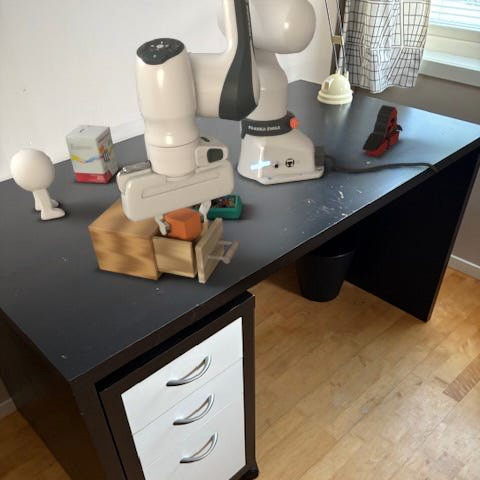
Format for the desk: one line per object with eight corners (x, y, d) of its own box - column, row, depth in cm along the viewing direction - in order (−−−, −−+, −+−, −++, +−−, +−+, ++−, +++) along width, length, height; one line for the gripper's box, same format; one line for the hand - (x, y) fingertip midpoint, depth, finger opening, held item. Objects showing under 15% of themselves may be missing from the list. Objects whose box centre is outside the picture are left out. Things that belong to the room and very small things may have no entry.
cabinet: (182, 247, 99) (176, 205, 92) (157, 280, 91) (148, 237, 84) (128, 238, 102) (119, 197, 96) (99, 269, 94) (87, 227, 88)
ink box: (106, 183, 122) (95, 137, 114) (76, 181, 123) (63, 136, 115) (119, 169, 128) (109, 124, 120) (90, 167, 130) (78, 123, 122)
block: (183, 226, 91) (180, 205, 88) (201, 233, 89) (199, 211, 86) (167, 237, 89) (164, 216, 85) (186, 244, 87) (183, 222, 84)
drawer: (244, 256, 94) (243, 221, 89) (226, 287, 87) (224, 251, 82) (172, 244, 98) (167, 210, 93) (149, 273, 91) (142, 238, 86)
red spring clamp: (389, 136, 138) (397, 95, 131) (401, 138, 137) (409, 97, 129) (360, 158, 128) (366, 115, 120) (372, 161, 126) (379, 118, 119)
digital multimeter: (241, 219, 106) (240, 208, 104) (175, 220, 107) (173, 209, 105) (242, 204, 112) (241, 192, 110) (179, 204, 112) (178, 193, 110)
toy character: (72, 214, 110) (53, 151, 100) (33, 226, 107) (9, 162, 97) (61, 199, 116) (41, 138, 106) (23, 210, 113) (-1, 148, 103)
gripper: (120, 177, 73) (136, 252, 82) (236, 146, 80) (239, 219, 89) (107, 162, 77) (124, 235, 86) (219, 134, 84) (224, 205, 93)
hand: (184, 227), depth 88 cm, fingers closed on block, 6 cm apart
